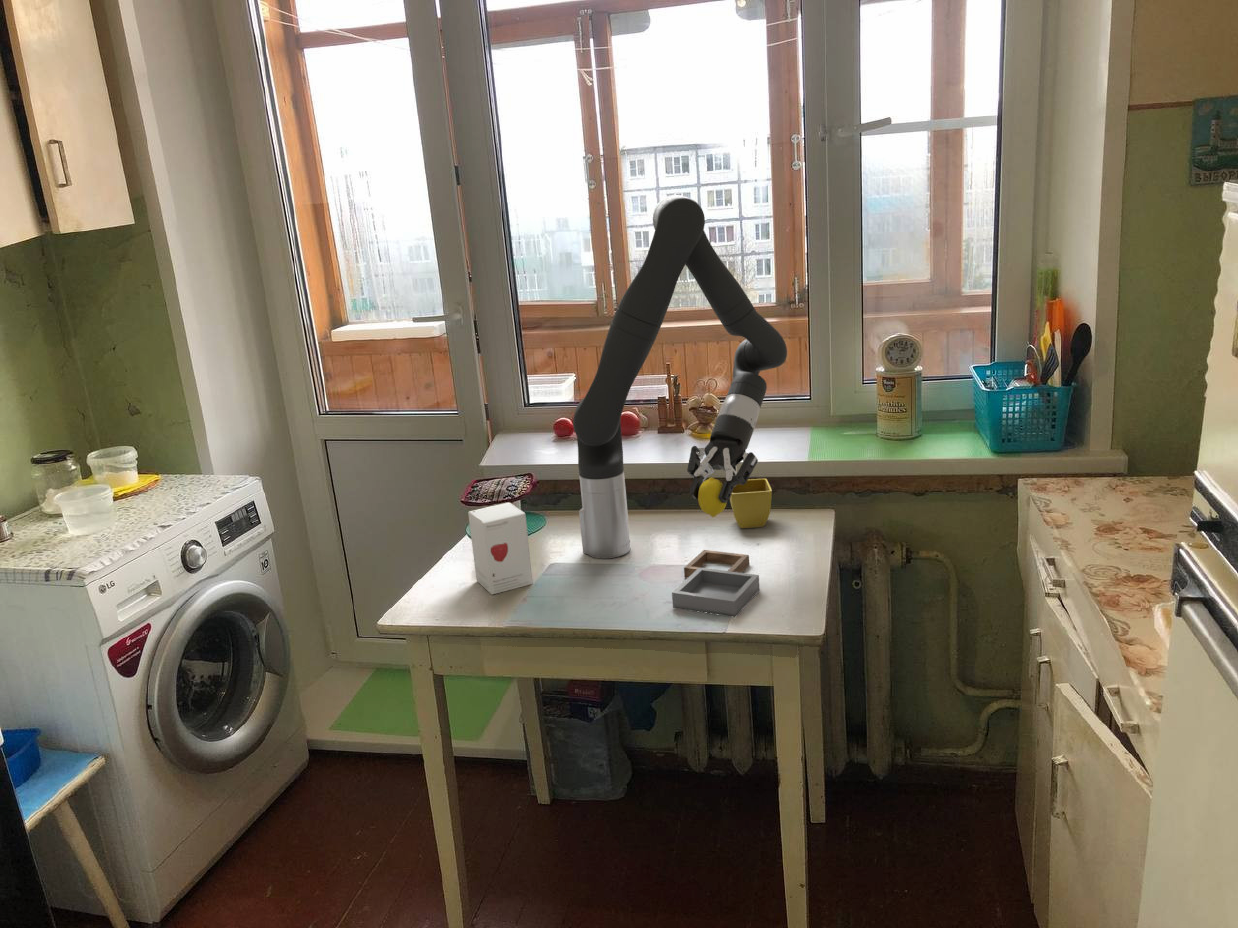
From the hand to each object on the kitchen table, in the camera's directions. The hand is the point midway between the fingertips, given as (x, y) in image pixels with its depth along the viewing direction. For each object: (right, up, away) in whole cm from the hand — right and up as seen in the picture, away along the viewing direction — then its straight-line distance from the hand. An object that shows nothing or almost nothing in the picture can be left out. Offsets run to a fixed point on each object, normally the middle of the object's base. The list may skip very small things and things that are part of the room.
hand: (707, 498), depth 182 cm
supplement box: (-40, -17, +9) cm, 44 cm away
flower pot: (+12, -7, +29) cm, 32 cm away
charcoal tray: (+1, -18, -7) cm, 19 cm away
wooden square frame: (+2, -14, +6) cm, 15 cm away
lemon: (+1, -4, +3) cm, 5 cm away
